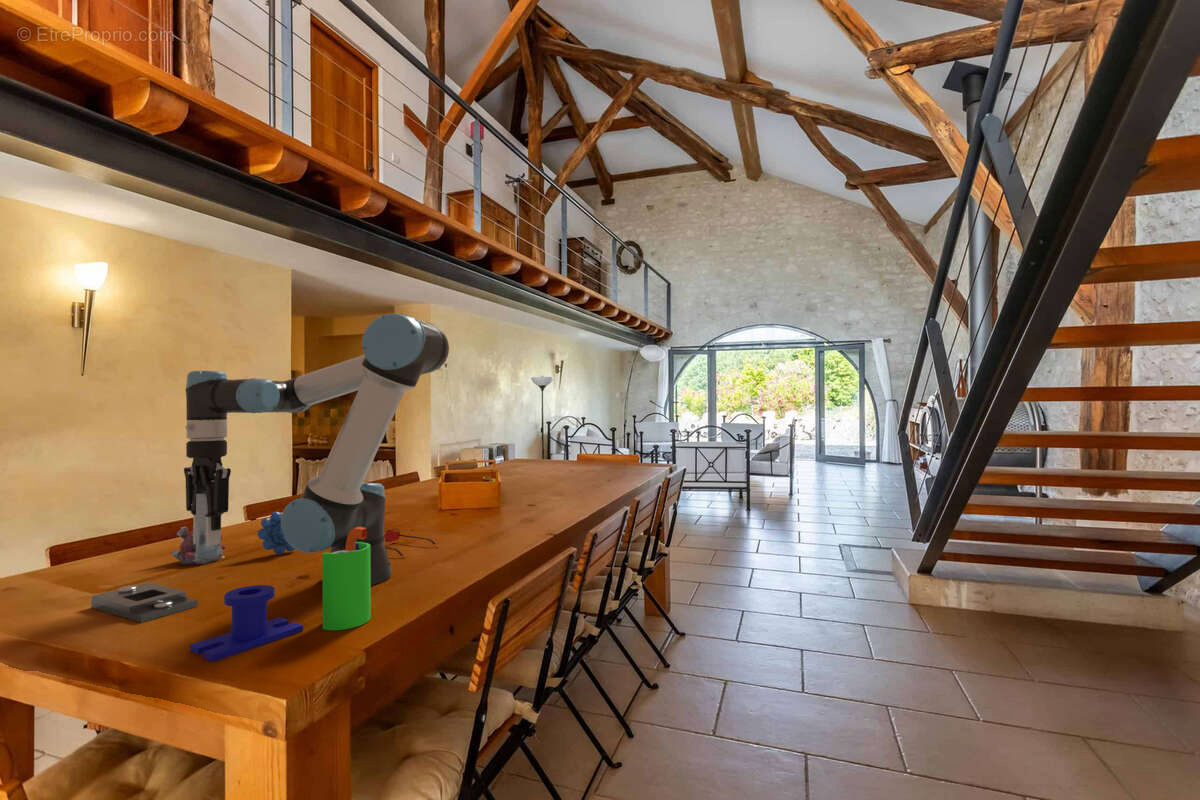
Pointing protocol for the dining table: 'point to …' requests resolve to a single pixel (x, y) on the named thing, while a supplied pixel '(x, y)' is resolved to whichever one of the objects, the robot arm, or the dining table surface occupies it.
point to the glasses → (395, 535)
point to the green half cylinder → (347, 584)
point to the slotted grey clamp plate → (143, 601)
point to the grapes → (274, 534)
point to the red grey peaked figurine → (193, 549)
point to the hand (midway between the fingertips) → (207, 543)
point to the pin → (203, 528)
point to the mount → (247, 624)
